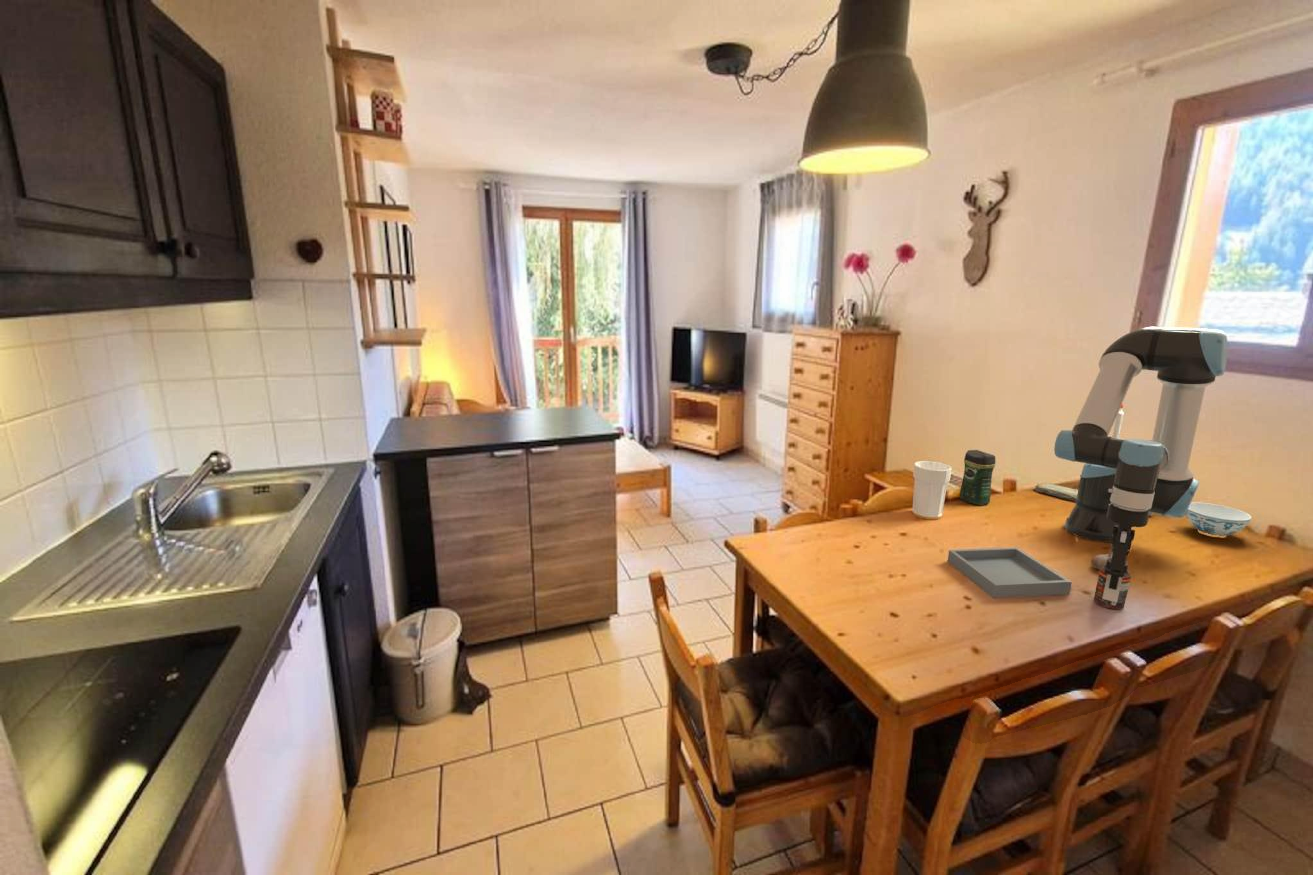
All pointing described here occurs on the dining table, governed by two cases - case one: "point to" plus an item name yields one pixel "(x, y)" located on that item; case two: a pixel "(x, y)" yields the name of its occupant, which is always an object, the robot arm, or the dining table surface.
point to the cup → (930, 489)
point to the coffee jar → (977, 477)
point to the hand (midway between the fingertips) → (1111, 589)
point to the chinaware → (1216, 518)
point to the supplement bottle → (1101, 587)
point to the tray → (1008, 572)
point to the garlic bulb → (1101, 559)
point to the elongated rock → (1059, 491)
